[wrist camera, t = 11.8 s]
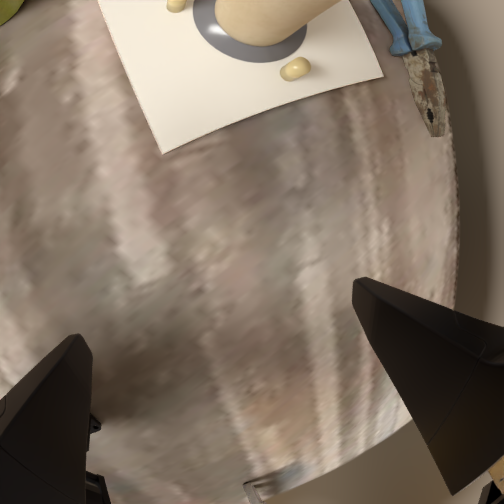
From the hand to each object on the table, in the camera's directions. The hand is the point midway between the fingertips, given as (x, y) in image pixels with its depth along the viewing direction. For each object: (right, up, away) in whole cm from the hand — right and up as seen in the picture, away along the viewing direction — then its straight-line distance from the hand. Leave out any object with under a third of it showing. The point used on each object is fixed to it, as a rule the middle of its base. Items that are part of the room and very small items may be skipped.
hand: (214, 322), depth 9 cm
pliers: (+13, +22, +11) cm, 28 cm away
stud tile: (+1, +18, +7) cm, 20 cm away
